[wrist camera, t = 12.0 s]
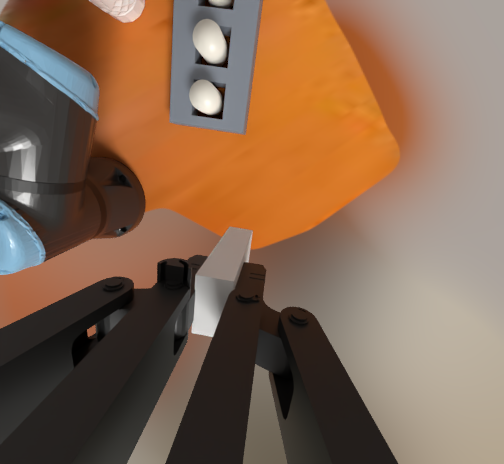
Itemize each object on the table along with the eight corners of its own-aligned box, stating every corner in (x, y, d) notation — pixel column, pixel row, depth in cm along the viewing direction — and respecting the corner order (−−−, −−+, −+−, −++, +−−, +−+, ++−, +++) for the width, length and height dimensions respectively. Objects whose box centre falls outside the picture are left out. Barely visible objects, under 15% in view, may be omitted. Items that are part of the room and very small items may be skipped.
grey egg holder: (177, 124, 42) (160, 119, 36) (184, -41, 35) (165, -81, 29) (245, 134, 41) (239, 131, 35) (267, -32, 34) (264, -71, 28)
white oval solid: (202, 65, 38) (191, 52, 33) (204, 34, 37) (193, 17, 32) (227, 68, 38) (220, 56, 33) (230, 38, 36) (223, 20, 32)
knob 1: (199, 114, 40) (188, 108, 35) (201, 87, 39) (190, 77, 34) (222, 117, 40) (215, 112, 35) (225, 90, 39) (217, 81, 34)
